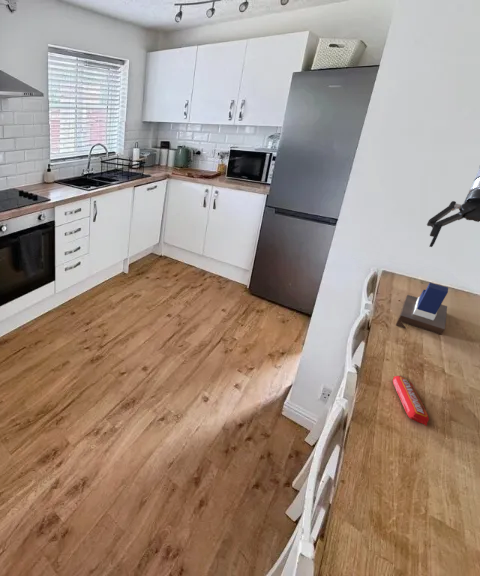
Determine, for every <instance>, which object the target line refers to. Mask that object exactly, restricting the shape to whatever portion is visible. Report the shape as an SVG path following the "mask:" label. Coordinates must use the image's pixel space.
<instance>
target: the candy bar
mask: <svg viewBox="0 0 480 576" xmlns="http://www.w3.org/2000/svg"><path fill="white" fill-rule="evenodd" d="M392 378H393V379H392V383H393V386H394V389H395V391H396V393H397V395H398V398H399V400H400V402H401V404H402V406H403V409H404V411H405V413H406V415H407V417H408V418H409V419H411V420H412V421H415V422H417V423H418V424H421V423H422V424H421V425H424V426H426V427H427V426H428V422H429V420H430V418H429V414H428V412H427V410H426V408H425V406H424V405H423V402H422V400H421V398H420V397H419V395H418V393H417V390H416V388H415V387H414V385H413V383H412V382H411V380H409V379H407V378H405V377H403V376H401V375H396V376H393V377H392Z"/></svg>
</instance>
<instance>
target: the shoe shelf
mask: <svg viewBox="0 0 480 576" xmlns="http://www.w3.org/2000/svg"><path fill="white" fill-rule="evenodd" d="M418 298H419V297H417V296H413V295H410V294H406V297H405V299H404V301H403V305H402V308H401V311H400V314H399V317H398V319H397V321H396V323H395V326H397V327H399V328H402V329H407V328H406V326H405V325H404V324H406V325H409V326H412V327H416V328H419V329H422V330H425V331H428V332H430V333H433V334H436V335H440V336H443V334H444V332H445V330H446V322H447V314H448V313H447V312H448V305H445V304H441V305H440V307H439V309H438V311H437V315H436V317H435V319H434V320H431V319H427V318H424V317H421V316H418V315H415V314H413V313H414V309H415V305H416V301H417V299H418Z"/></svg>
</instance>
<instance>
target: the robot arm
mask: <svg viewBox="0 0 480 576" xmlns="http://www.w3.org/2000/svg"><path fill="white" fill-rule="evenodd" d="M456 210H459V211H458V212H457V213H454V214H452V215H450V216H447V215H449V214H450V213H451V212H453V211H456ZM446 216H447V217H446ZM444 217H445V218H444ZM463 219H465V221H474V222H477V223H479V222H480V166H479V167H478V170H477V172H476V175H475V176H474V180H473V182H472V184H471V186H470V188H469V190H468V192H467V195H466V197H465V199H464V201H463V203H462V204H459V203H457V201H455V200H451V202H450V203H449V205H448V206H447V207H445V208H444V209H442V210H441V211H439V212H438V213H437V214H436V215H434V216H432V217H431V218H430V219H428V221H427V223H426V225H427V227H431V230H430V233H429V237H432V239H431V241H430V244H429V245H428V246H429V248H433V246H434V245H435V243H436V241H437V238H438V237H439V234H440V232H441V230H442V227H445V226H447V225H450V224H451V223H454V222H456V221H460V220H463Z"/></svg>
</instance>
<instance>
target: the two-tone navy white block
mask: <svg viewBox="0 0 480 576" xmlns="http://www.w3.org/2000/svg"><path fill="white" fill-rule="evenodd" d="M448 293H449V287H448V286H444V285H440V284H437V283H433V282H429V283H428V285H427V286H426V289H423V290H422V291H421V294H420V296H418V297H417V298H418V299H417V301H416V305H415V309H414V313H413V314H415V315H418V316H421V317H424V318H427V319H431V320H434V319H435V317H436V315H437V311H438V309H439V307H440V305H441V304H442V303H443V302H444V300H445V298H446V297H447V295H448ZM442 305H443V304H442Z"/></svg>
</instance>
